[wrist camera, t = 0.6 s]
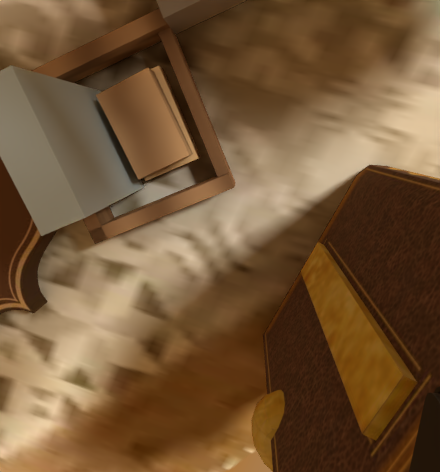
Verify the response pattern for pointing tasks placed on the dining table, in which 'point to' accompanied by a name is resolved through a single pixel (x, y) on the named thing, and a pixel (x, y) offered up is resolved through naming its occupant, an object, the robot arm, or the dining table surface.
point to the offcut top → (144, 123)
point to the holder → (192, 11)
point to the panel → (60, 149)
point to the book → (357, 334)
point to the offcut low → (178, 114)
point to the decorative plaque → (18, 250)
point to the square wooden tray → (155, 31)
